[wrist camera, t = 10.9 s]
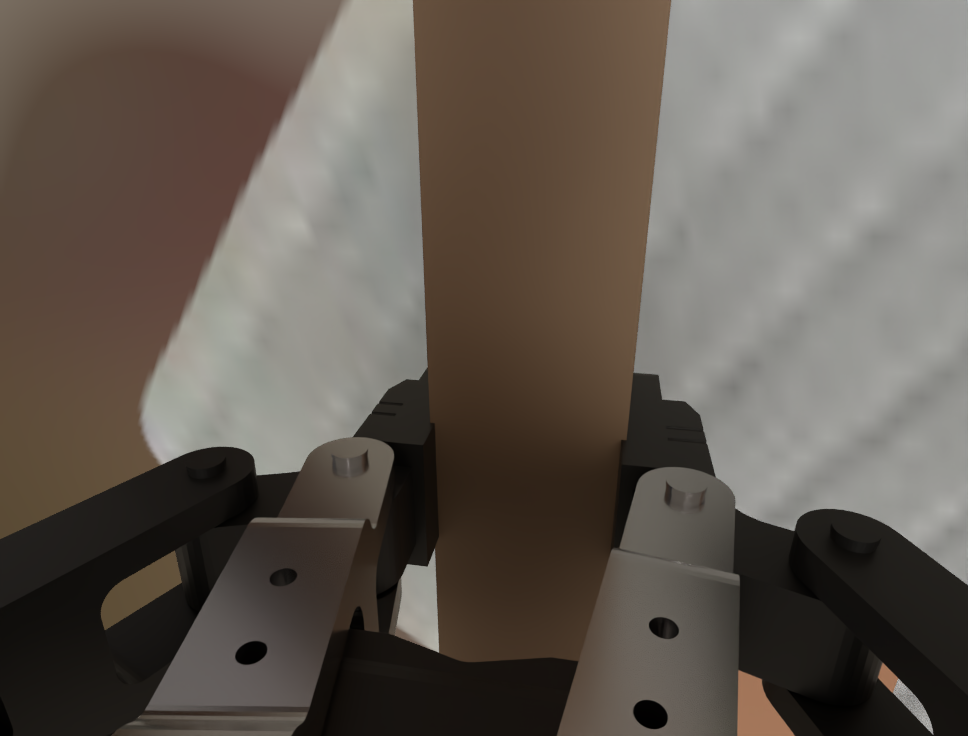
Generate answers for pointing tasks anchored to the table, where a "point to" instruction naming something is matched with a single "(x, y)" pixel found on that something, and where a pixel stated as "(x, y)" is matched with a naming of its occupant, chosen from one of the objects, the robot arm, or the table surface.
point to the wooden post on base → (531, 300)
